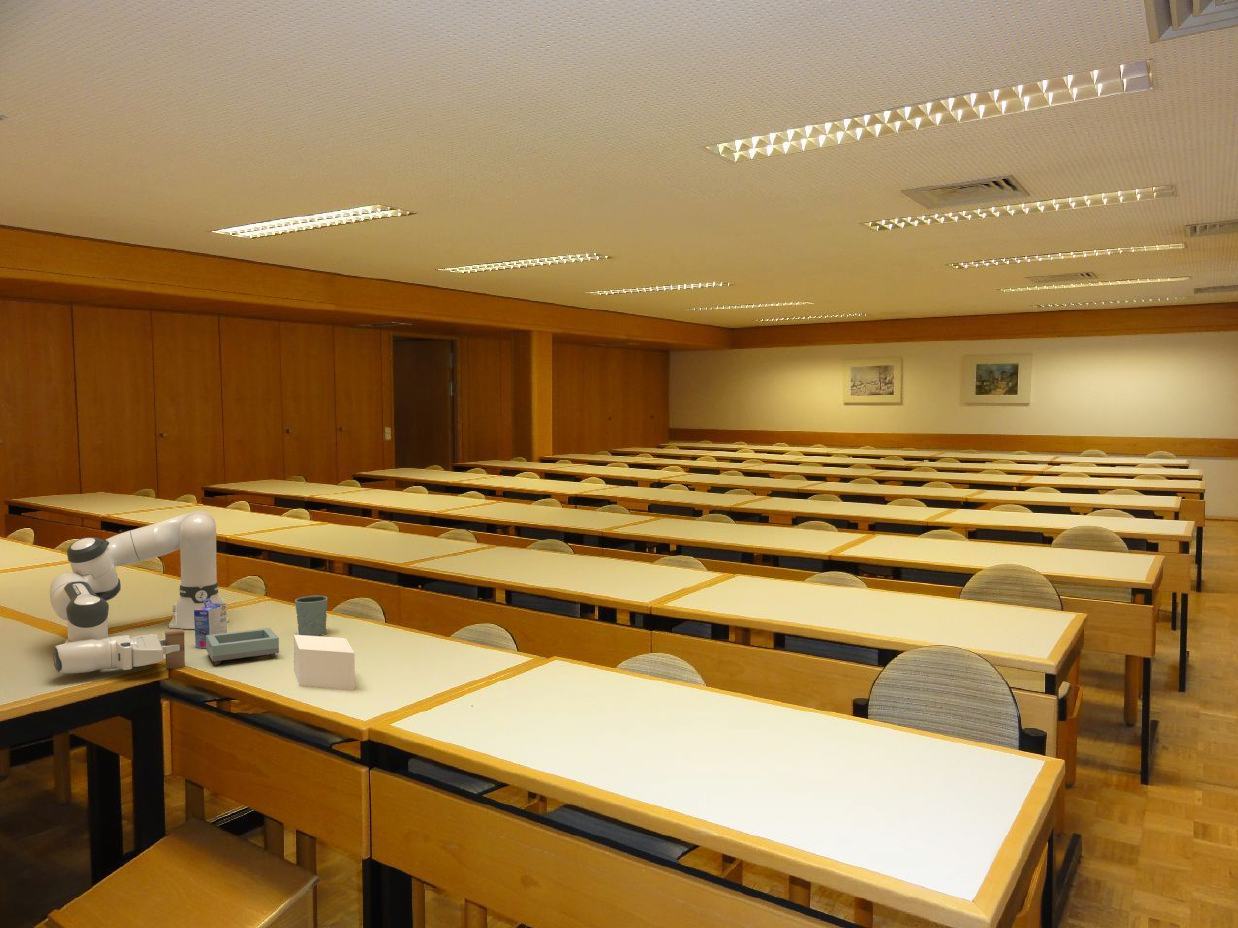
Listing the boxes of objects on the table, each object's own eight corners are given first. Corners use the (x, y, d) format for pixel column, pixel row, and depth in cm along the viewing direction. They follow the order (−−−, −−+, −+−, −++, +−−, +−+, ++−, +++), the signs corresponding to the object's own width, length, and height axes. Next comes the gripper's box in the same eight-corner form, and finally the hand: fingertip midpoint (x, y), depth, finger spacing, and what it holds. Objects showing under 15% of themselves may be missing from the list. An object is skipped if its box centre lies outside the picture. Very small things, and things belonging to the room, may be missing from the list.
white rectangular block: (330, 697, 218) (330, 658, 217) (270, 675, 235) (270, 639, 235) (377, 684, 229) (377, 647, 229) (316, 664, 247) (316, 629, 246)
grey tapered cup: (334, 632, 282) (334, 597, 281) (310, 639, 273) (310, 603, 272) (312, 628, 287) (312, 594, 286) (288, 635, 278) (288, 599, 277)
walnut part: (165, 665, 243) (165, 631, 243) (183, 662, 246) (182, 629, 245) (167, 669, 239) (166, 634, 239) (184, 666, 242) (184, 632, 241)
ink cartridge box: (212, 639, 271) (211, 595, 270) (228, 640, 270) (227, 596, 270) (193, 648, 261) (193, 602, 260) (210, 648, 261) (209, 602, 260)
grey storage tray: (206, 655, 253) (206, 635, 253) (269, 646, 263) (269, 627, 263) (212, 667, 242) (212, 646, 241) (278, 658, 251) (278, 637, 251)
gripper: (121, 653, 244) (174, 647, 252) (125, 671, 227) (182, 664, 234) (120, 632, 244) (174, 626, 251) (124, 648, 227) (182, 641, 234)
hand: (178, 644), depth 243 cm, fingers closed on walnut part, 4 cm apart
